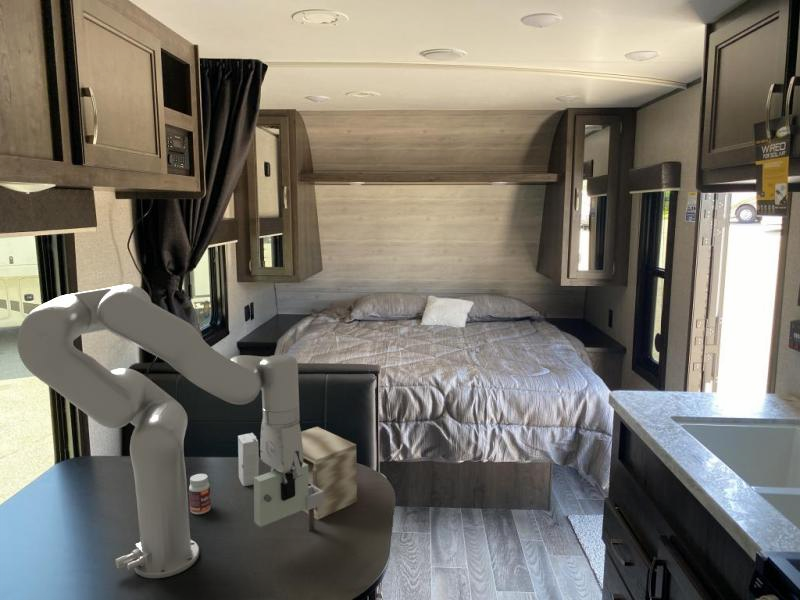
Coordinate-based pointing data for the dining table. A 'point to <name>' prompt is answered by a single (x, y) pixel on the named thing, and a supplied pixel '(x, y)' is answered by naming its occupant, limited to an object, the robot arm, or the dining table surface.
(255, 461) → the skincare box
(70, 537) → the dining table surface
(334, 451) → the cabinet
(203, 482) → the pill bottle
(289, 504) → the door
